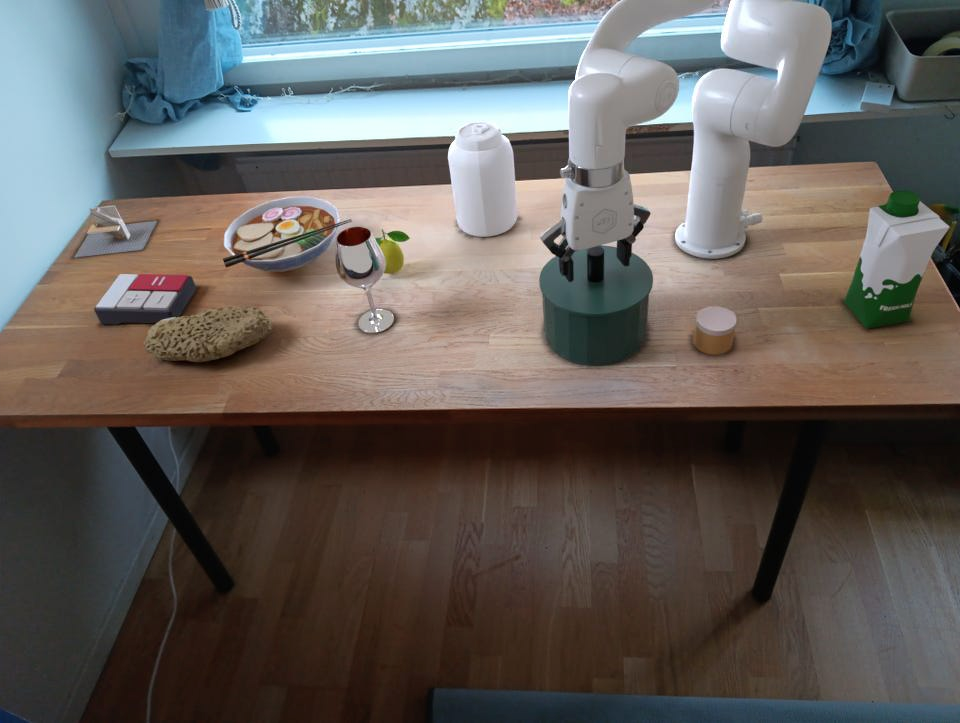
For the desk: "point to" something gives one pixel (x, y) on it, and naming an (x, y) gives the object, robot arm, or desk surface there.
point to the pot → (595, 334)
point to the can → (483, 179)
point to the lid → (597, 283)
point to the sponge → (207, 334)
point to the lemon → (392, 250)
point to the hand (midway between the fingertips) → (595, 269)
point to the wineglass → (363, 272)
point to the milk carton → (893, 259)
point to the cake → (714, 330)
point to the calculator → (145, 298)
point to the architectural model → (113, 234)
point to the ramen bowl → (282, 233)
